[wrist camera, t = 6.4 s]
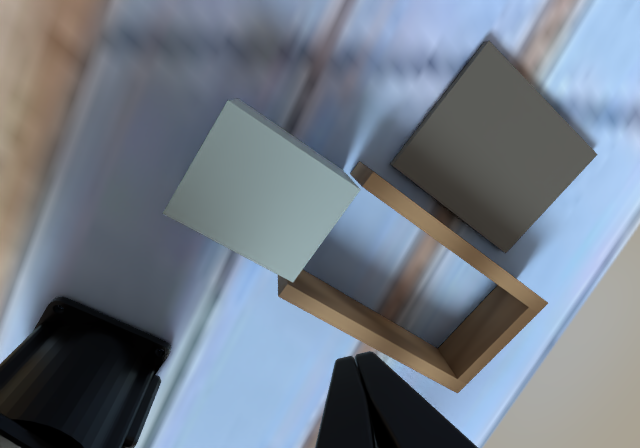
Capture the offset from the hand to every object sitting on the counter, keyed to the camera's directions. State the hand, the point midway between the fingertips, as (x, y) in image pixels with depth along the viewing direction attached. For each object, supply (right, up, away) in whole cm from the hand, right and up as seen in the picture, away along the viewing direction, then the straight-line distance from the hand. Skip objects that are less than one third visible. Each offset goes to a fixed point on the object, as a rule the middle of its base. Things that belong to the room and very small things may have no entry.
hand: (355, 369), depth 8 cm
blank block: (-4, +6, +9) cm, 11 cm away
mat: (+8, +7, +10) cm, 15 cm away
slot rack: (+4, 0, +12) cm, 13 cm away
